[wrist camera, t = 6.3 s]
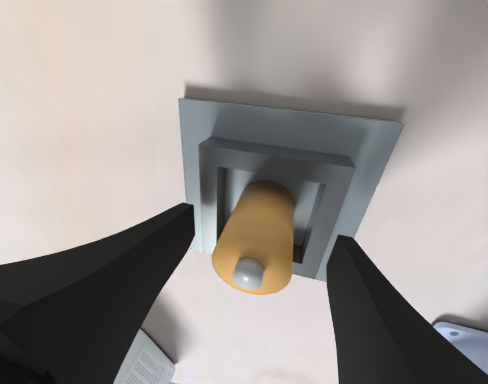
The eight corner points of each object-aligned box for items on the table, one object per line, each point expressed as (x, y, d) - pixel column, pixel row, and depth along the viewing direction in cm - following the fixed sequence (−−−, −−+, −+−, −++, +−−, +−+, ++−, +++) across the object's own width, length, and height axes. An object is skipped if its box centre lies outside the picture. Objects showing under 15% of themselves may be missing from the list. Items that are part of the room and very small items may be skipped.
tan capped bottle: (299, 185, 12) (300, 259, 7) (289, 231, 13) (283, 316, 9) (242, 175, 12) (205, 237, 8) (238, 221, 14) (206, 294, 9)
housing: (399, 121, 10) (422, 131, 8) (332, 276, 15) (337, 304, 13) (183, 97, 12) (161, 101, 10) (193, 243, 17) (179, 264, 15)
